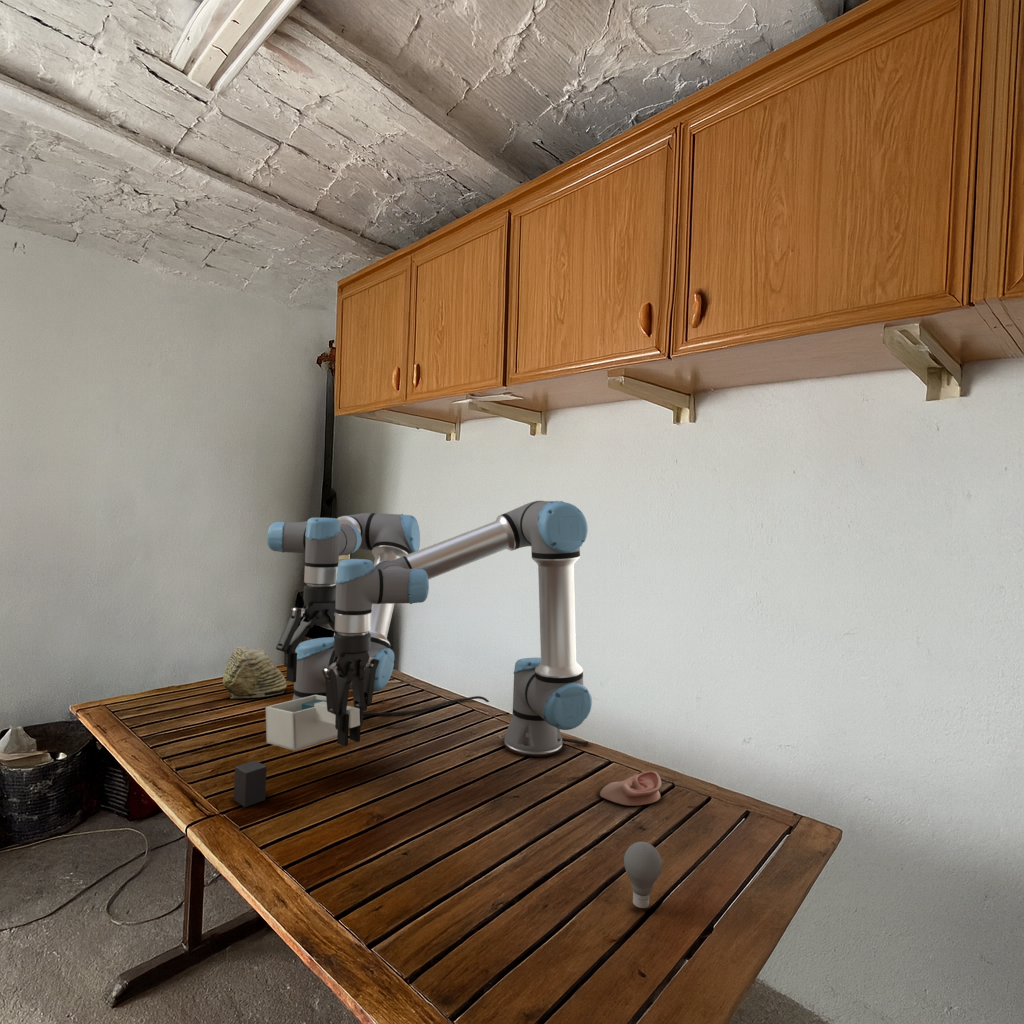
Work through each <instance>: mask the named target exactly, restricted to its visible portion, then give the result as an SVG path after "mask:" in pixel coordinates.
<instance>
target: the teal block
mask: <svg viewBox="0 0 1024 1024" xmlns="http://www.w3.org/2000/svg"><path fill="white" fill-rule="evenodd" d="M323 701H324V702H327V701H325V700H318V699H317V700H313V701H310V702H306V703H302V710H305V709H308V708H312V707H314V704H315V703H319V702H323Z"/></svg>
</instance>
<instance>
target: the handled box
mask: <svg viewBox="0 0 1024 1024" xmlns="http://www.w3.org/2000/svg"><path fill="white" fill-rule="evenodd" d="M317 699H318V700H325V701H327V700H326V696H320V695H312V696H308V697H304V698H300V699H296V700H292V699H291V700H288V701H285V702H280V703H277V704H276V703H275V704H272V705H268V706H265V735H266V736H265V739H266V740H265V741H266V742H265V743H266V744H269V745H272V746H276V747H279V748H283V749H286V750H291V751H294V752H295V751H298V750H301V749H305V748H308V747H311V746H314V745H318V744H321V743H323V742H326V741H330V740H333V739H337V734H338V730H337V729H336V728H335V718H336V715H335V714H333V713H330V712H328V711H327V702H324V701H323V702H319V703H315V704H314V707H312V708H308V709H305V710H302V703H306V702H310V701H313V700H317ZM346 714H349V729H350V728H353V727H356V726H359V725H360V711H359V708H355V707H354V706H350V705H347V709H346Z"/></svg>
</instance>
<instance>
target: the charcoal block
mask: <svg viewBox="0 0 1024 1024" xmlns="http://www.w3.org/2000/svg"><path fill="white" fill-rule="evenodd" d="M267 769H268V768H267V765H264V764H263V763H261V762H259V761H257V760H251V761H249V762H245V763H242V764H239V765H236V766H234V780H233V781H234V783H233V785H234V787H233V789H234V790H233V801H235V802H236V803H238V804H239V805H241V806H242V807H244V808H247V807H250V806H252V805H255V804H259V803H262V802H263V801H266V797H267V795H266V793H267Z"/></svg>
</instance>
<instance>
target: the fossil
mask: <svg viewBox="0 0 1024 1024" xmlns="http://www.w3.org/2000/svg"><path fill="white" fill-rule="evenodd" d="M222 676H223V677H222V685H223V687H224V688H225V690H226V691H228V693H229V698H230V699H250V698H264V697H271V696H275V695H281V694H284V693H285V691H286V689H287V687H288V686H287V680H286V678H285V676H284V674H283V673H282V672H281V669H279V668H278V667H277V665H276V663H275V662H274V660H273V659H272V658H271V657H270V656H269V655H268V654H267V653H266V652H265V650H264V649H263V648H260V647H258V648H251V647H247V646H246V647H245V646H238V647H237V648H236V649H235V650H233V651H232V653H231V656H230V657H229V659H228V660H227V663H226V666H225V668H224V671H223V675H222Z"/></svg>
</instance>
